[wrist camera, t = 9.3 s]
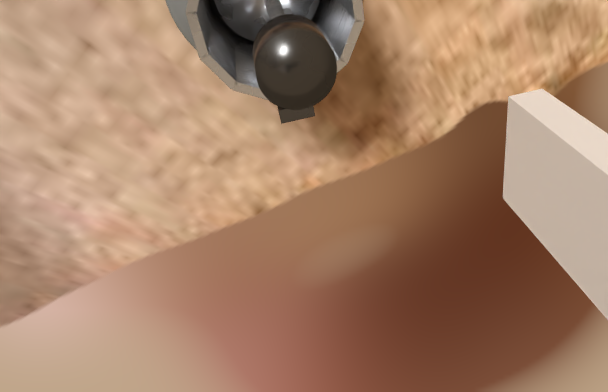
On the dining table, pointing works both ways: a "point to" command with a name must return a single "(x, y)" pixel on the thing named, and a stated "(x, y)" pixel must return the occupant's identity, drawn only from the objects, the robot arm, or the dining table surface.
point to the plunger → (284, 49)
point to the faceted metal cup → (239, 51)
